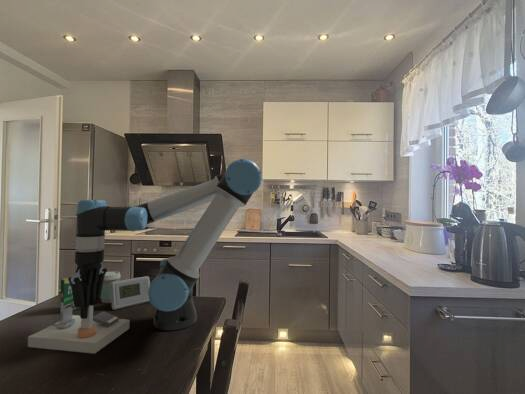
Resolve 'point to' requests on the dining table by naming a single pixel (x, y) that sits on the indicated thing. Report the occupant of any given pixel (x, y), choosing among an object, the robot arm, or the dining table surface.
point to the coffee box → (66, 295)
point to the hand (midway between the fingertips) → (86, 327)
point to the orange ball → (86, 332)
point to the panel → (69, 336)
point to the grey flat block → (105, 318)
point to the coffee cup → (108, 285)
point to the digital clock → (129, 292)
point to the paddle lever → (66, 318)
